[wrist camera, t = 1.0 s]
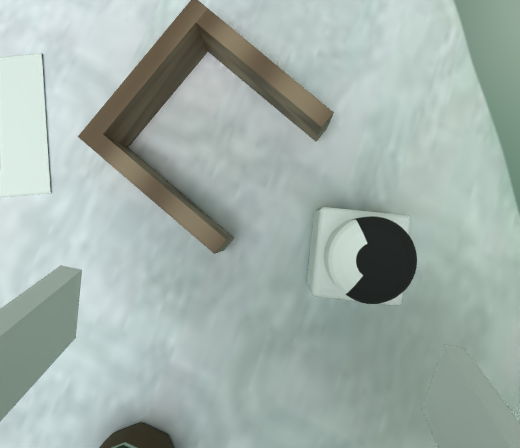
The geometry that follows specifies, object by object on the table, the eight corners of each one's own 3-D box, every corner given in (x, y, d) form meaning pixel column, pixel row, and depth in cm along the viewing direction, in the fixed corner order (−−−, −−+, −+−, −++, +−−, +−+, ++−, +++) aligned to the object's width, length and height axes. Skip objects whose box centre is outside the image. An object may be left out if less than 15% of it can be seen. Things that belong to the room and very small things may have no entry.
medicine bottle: (389, 217, 42) (433, 213, 30) (382, 293, 42) (422, 319, 30) (313, 209, 42) (327, 202, 30) (306, 284, 42) (316, 307, 30)
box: (326, 129, 42) (333, 112, 36) (223, 250, 42) (214, 253, 36) (206, 29, 43) (193, -4, 37) (106, 149, 43) (77, 136, 37)
